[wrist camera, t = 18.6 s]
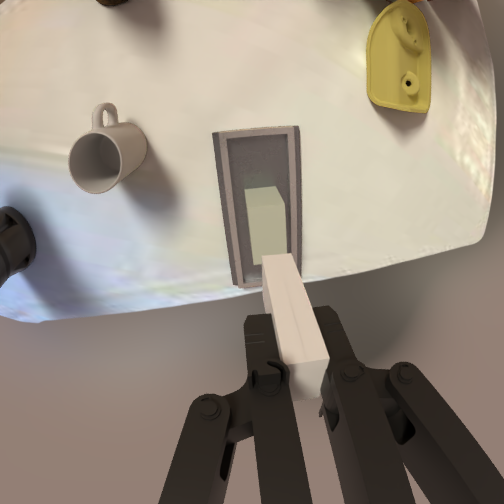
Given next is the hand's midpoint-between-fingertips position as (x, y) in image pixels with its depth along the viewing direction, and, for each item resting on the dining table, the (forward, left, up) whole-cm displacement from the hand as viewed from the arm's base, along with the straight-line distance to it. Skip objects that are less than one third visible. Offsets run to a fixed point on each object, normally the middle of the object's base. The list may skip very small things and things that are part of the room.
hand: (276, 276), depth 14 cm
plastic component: (+27, +18, -32) cm, 45 cm away
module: (+2, -10, -30) cm, 32 cm away
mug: (-19, +6, -32) cm, 37 cm away
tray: (+2, -10, -31) cm, 33 cm away
